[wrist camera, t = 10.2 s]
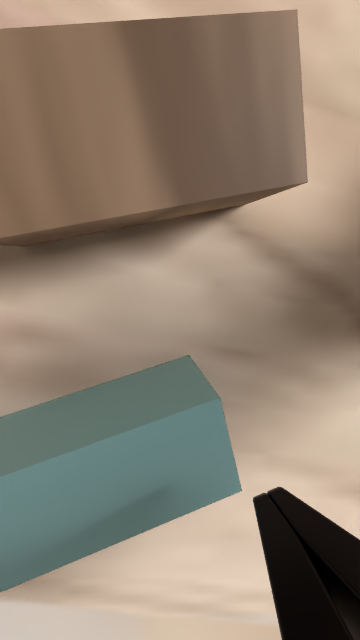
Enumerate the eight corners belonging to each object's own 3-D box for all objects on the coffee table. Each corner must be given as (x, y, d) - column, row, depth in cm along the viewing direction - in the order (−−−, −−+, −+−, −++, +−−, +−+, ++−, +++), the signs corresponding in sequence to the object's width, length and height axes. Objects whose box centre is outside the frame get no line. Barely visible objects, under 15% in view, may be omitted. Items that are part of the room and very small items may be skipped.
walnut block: (297, 9, 7) (-110, 36, 6) (307, 182, 8) (-30, 243, 7) (233, 94, 11) (-19, 123, 9) (246, 204, 12) (22, 246, 10)
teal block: (219, 398, 9) (-80, 506, 8) (242, 490, 10) (-17, 599, 9) (188, 354, 13) (-17, 422, 12) (207, 426, 14) (22, 495, 13)
